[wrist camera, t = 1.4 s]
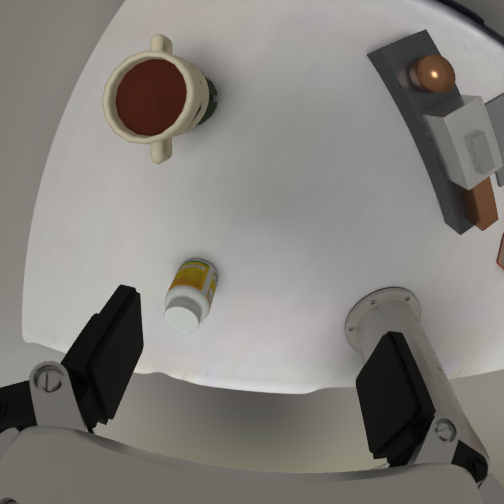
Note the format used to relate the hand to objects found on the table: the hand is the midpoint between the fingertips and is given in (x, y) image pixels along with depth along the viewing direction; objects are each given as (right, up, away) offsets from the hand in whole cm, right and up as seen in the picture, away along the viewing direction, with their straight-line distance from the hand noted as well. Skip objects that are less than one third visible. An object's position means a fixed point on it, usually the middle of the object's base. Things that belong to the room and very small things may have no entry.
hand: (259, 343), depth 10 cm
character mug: (-7, +20, +18) cm, 28 cm away
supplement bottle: (-7, 0, +29) cm, 30 cm away
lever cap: (+22, +16, +14) cm, 31 cm away
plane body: (+22, +18, +18) cm, 33 cm away
